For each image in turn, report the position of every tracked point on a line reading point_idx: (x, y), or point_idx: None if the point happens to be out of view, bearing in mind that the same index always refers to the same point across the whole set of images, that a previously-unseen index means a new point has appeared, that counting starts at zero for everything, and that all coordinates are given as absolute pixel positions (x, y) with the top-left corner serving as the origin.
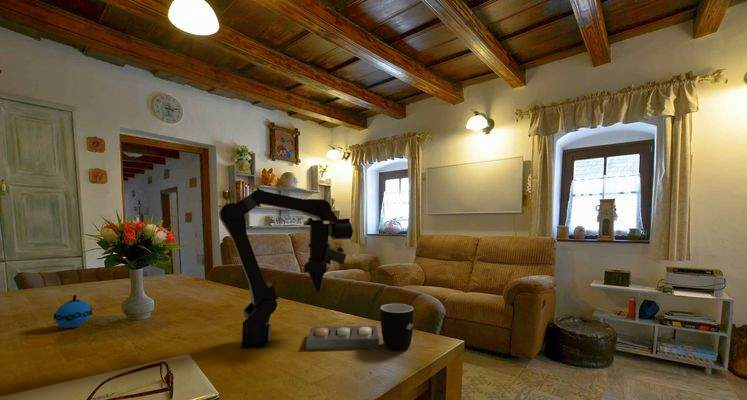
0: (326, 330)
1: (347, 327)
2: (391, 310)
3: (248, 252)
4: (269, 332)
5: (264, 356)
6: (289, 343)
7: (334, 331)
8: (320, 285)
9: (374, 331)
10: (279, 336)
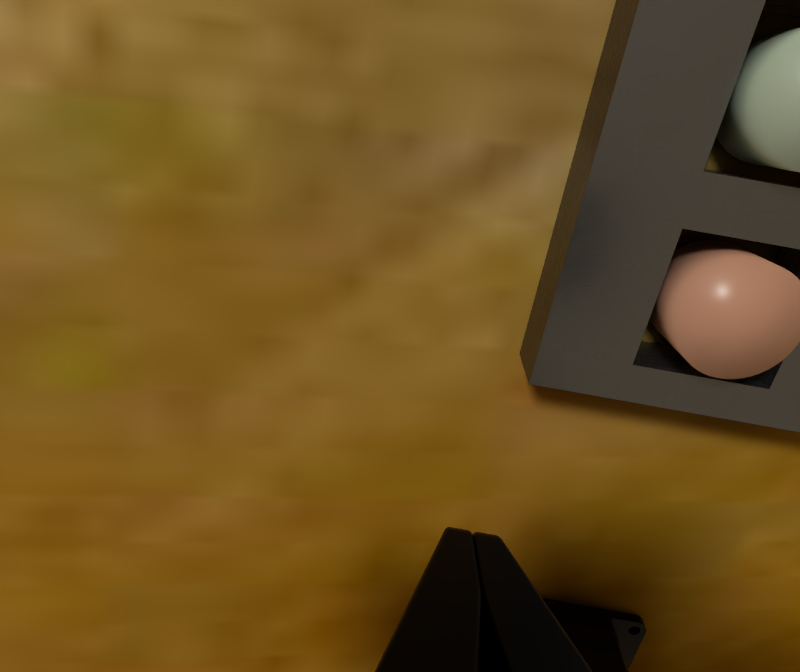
0: (780, 283)
1: (673, 28)
2: None
3: None
4: (595, 652)
5: (775, 607)
6: (624, 493)
7: (741, 193)
8: (567, 652)
9: None
10: None
